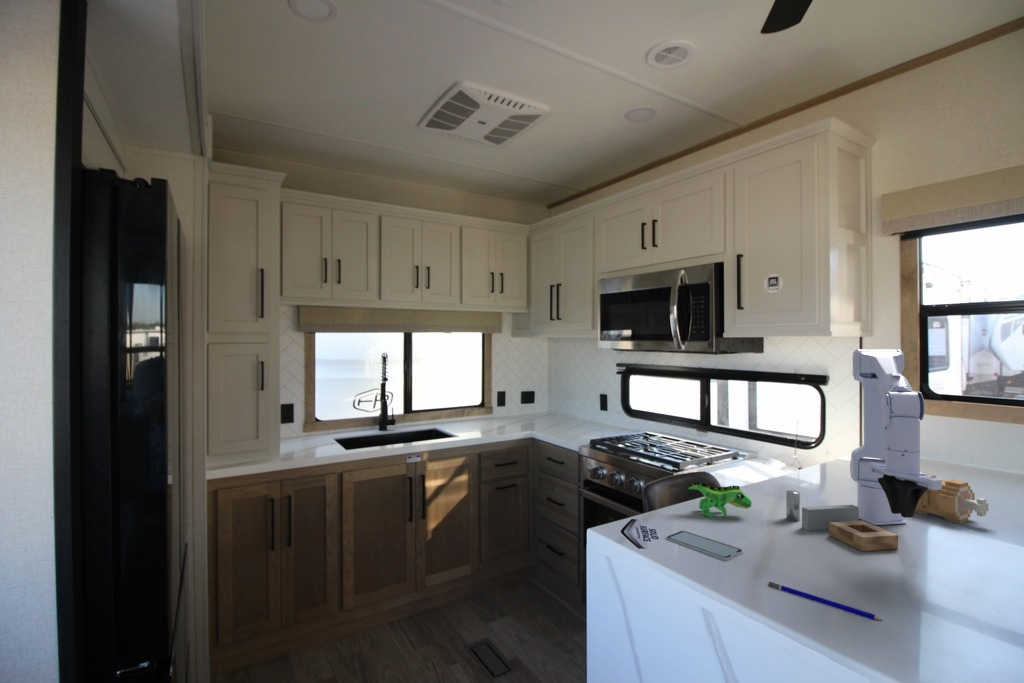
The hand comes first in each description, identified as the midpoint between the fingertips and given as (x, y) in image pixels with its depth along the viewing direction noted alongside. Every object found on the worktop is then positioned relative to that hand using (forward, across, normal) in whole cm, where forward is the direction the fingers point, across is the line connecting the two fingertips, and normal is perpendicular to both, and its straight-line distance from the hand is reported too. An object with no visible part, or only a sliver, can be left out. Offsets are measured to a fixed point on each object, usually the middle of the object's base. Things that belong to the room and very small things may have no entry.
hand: (902, 515), depth 101 cm
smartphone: (+10, -13, -37) cm, 40 cm away
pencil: (+10, +12, -30) cm, 34 cm away
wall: (+9, -18, 0) cm, 21 cm away
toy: (+10, -31, -22) cm, 39 cm away
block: (+9, -10, 0) cm, 13 cm away
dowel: (+9, -25, -5) cm, 27 cm away
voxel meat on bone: (+10, -22, +36) cm, 43 cm away
